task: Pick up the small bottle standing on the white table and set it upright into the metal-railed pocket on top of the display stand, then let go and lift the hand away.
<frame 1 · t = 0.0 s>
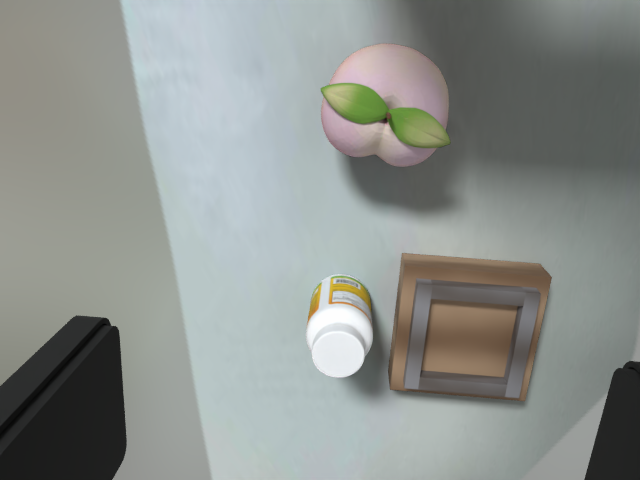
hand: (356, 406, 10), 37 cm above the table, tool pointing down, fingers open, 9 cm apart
display stand: (460, 319, 50), on the table
supplement bottle: (341, 299, 50), on the table
decorative fruit: (382, 98, 44), on the table
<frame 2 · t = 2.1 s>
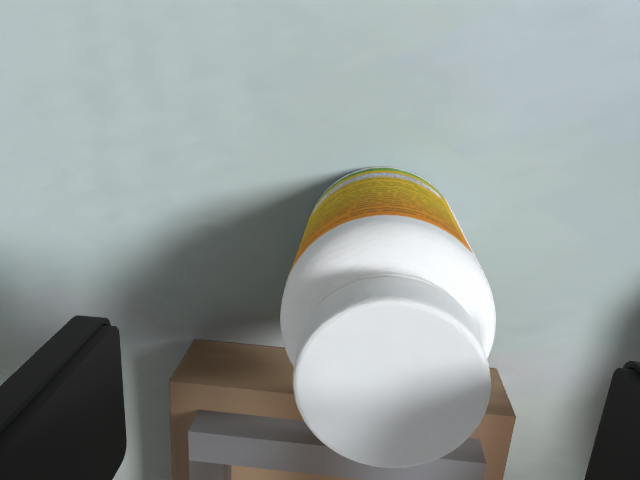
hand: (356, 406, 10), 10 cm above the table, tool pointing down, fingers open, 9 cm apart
display stand: (332, 475, 24), on the table
supplement bottle: (380, 234, 20), on the table
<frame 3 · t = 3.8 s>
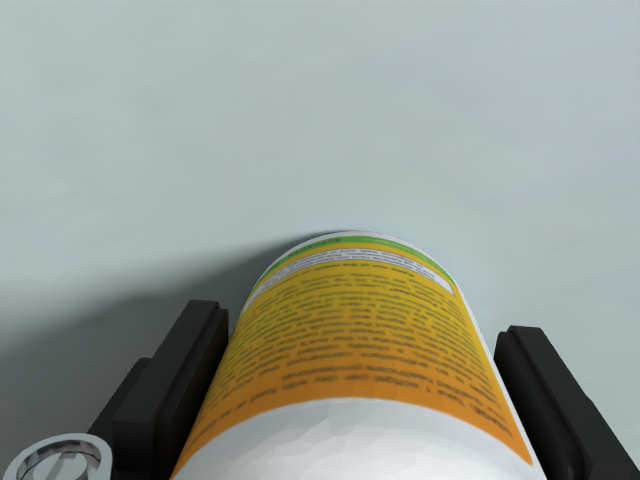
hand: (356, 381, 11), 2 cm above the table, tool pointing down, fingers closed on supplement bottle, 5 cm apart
supplement bottle: (355, 329, 13), on the table, touching gripper
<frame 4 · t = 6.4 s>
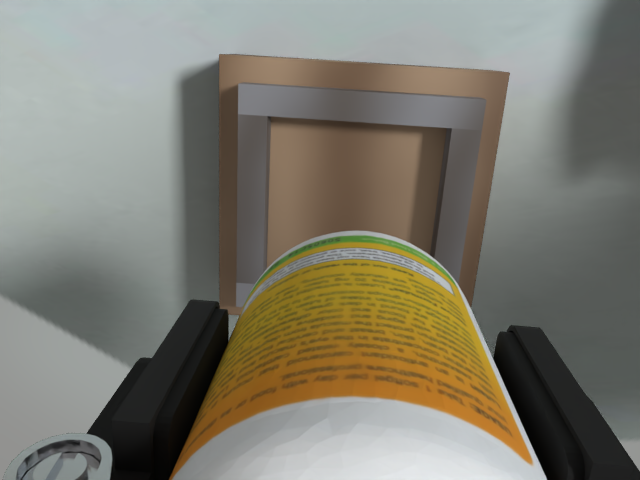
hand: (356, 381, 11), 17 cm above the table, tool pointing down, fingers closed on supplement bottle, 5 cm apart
display stand: (351, 188, 27), on the table
supplement bottle: (355, 328, 13), point 15 cm above the table, touching gripper
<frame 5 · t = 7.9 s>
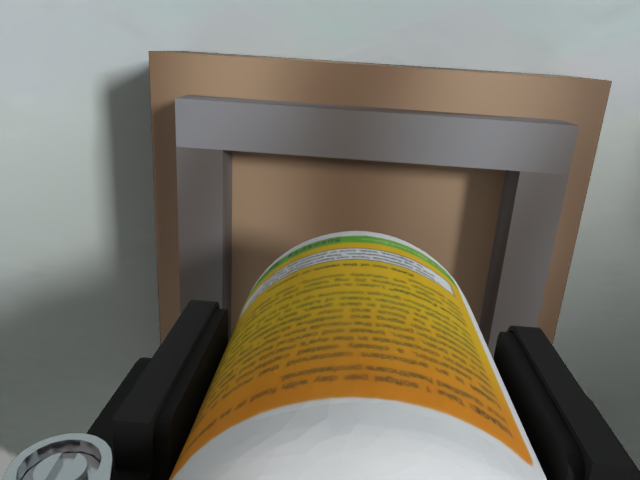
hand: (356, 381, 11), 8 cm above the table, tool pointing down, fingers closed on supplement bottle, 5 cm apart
display stand: (357, 244, 19), on the table
supplement bottle: (355, 329, 13), point 6 cm above the table, touching gripper
when the fingers open (7 cm above the table, at t = 9.1 s): supplement bottle drops 2 cm, resting on display stand.
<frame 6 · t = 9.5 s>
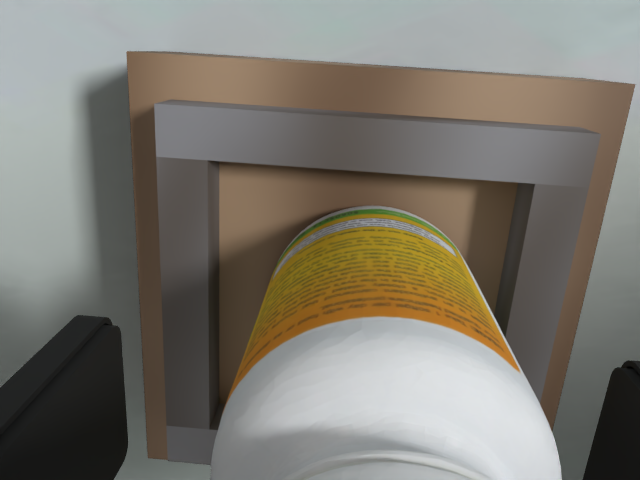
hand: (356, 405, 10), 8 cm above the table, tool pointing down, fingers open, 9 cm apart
display stand: (355, 259, 18), on the table
supplement bottle: (369, 294, 15), point 3 cm above the table, touching display stand
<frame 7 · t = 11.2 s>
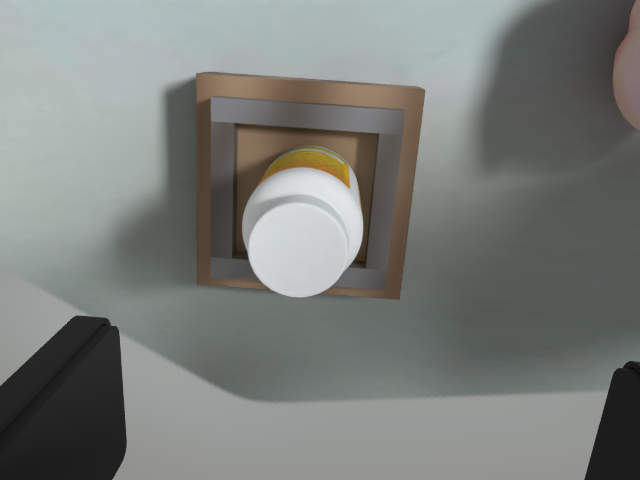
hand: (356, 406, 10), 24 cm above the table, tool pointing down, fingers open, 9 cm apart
display stand: (307, 181, 33), on the table
supplement bottle: (310, 191, 31), point 3 cm above the table, touching display stand
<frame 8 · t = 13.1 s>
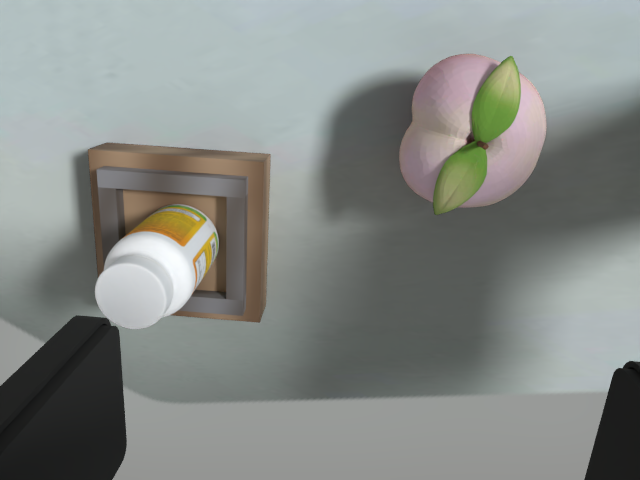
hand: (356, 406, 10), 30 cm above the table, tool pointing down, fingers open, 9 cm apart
display stand: (189, 227, 42), on the table
supplement bottle: (183, 238, 39), point 3 cm above the table, touching display stand
decorative fruit: (457, 124, 38), on the table
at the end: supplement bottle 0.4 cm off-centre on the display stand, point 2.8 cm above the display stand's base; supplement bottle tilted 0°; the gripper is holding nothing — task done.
